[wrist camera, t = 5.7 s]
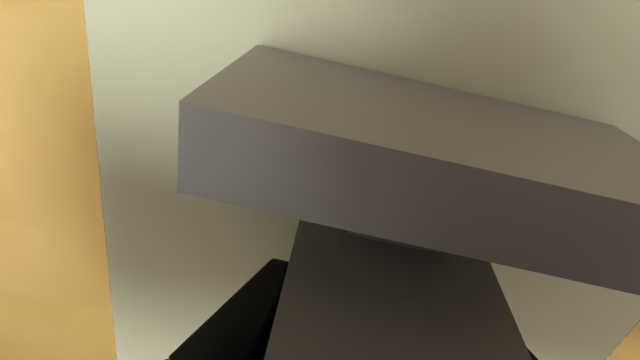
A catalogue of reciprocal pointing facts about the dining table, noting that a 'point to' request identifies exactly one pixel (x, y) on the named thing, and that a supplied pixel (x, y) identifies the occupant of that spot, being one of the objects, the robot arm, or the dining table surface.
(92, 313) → the dining table surface
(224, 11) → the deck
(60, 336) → the dining table surface
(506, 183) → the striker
